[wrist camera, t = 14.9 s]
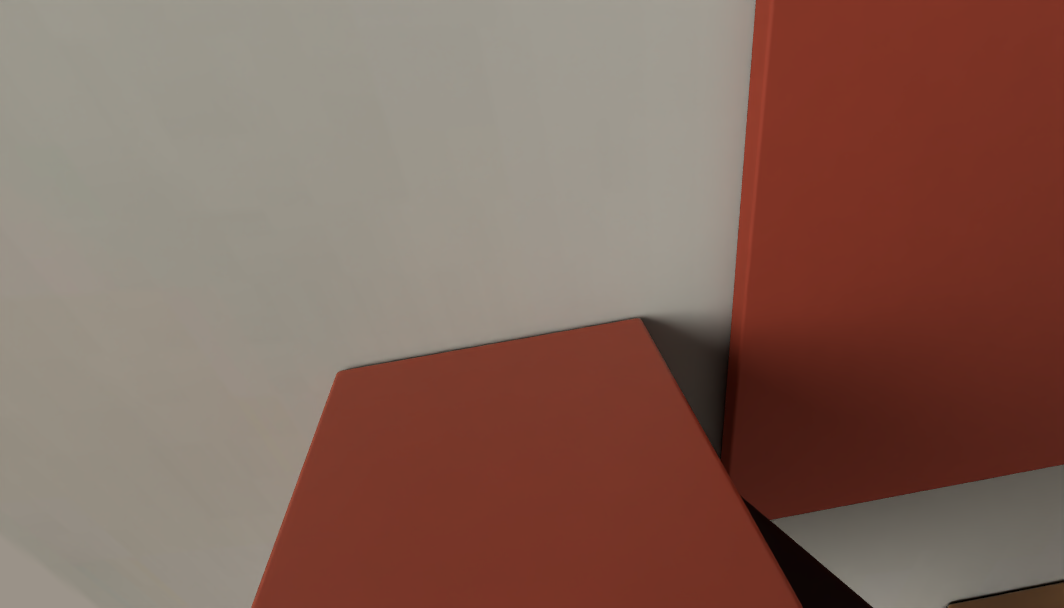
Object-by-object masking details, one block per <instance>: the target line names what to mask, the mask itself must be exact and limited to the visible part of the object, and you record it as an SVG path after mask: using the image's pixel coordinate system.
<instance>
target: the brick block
mask: <svg viewBox="0 0 1064 608" xmlns="http://www.w3.org/2000/svg"><path fill="white" fill-rule="evenodd" d="M251 608H803V607H802V605H801V603H800V601H799V600H798V598H797V596H796V594H795V592H794V591H793V589H792V587H791V585H790V583H789V582H788V580H787V578H786V576H785V575H784V573H783V571H782V569H781V567H780V566H779V564H778V562H777V560H776V559H775V557H774V555H773V553H772V551H771V550H770V548H769V546H768V544H767V543H766V541H765V539H764V537H763V535H762V534H761V532H760V530H759V528H758V526H757V525H756V523H755V521H754V519H753V518H752V516H751V514H750V512H749V510H748V509H747V507H746V505H745V503H744V502H743V500H742V498H741V496H740V494H739V493H738V491H737V489H736V487H735V486H734V484H733V482H732V480H731V478H730V477H729V475H728V473H727V471H726V469H725V468H724V466H723V464H722V462H721V461H720V459H719V457H718V455H717V453H716V452H715V450H714V448H713V446H712V445H711V443H710V441H709V439H708V437H707V436H706V434H705V432H704V430H703V428H702V427H701V425H700V423H699V421H698V420H697V418H696V416H695V414H694V412H693V411H692V409H691V407H690V405H689V404H688V402H687V400H686V398H685V396H684V395H683V393H682V391H681V389H680V388H679V386H678V384H677V382H676V380H675V379H674V377H673V375H672V373H671V371H670V370H669V368H668V366H667V364H666V363H665V361H664V359H663V357H662V355H661V354H660V352H659V350H658V348H657V347H656V345H655V343H654V341H653V339H652V338H651V336H650V334H649V332H648V331H647V329H646V327H645V325H644V323H643V322H642V320H641V319H640V318H635V319H629V320H623V321H618V322H612V323H606V324H601V325H595V326H590V327H584V328H578V329H573V330H567V331H561V332H556V333H550V334H545V335H539V336H533V337H528V338H522V339H517V340H511V341H505V342H500V343H494V344H488V345H483V346H477V347H472V348H466V349H460V350H455V351H449V352H443V353H438V354H432V355H427V356H421V357H415V358H410V359H404V360H399V361H393V362H387V363H382V364H376V365H370V366H365V367H359V368H354V369H348V370H342V371H340V372H338V373H337V374H336V377H335V380H334V382H333V385H332V388H331V391H330V393H329V396H328V399H327V402H326V404H325V407H324V410H323V413H322V415H321V418H320V421H319V424H318V426H317V429H316V432H315V434H314V437H313V440H312V443H311V445H310V448H309V451H308V454H307V456H306V459H305V462H304V465H303V467H302V470H301V473H300V476H299V478H298V481H297V484H296V487H295V489H294V492H293V495H292V497H291V500H290V503H289V506H288V508H287V511H286V514H285V517H284V519H283V522H282V525H281V528H280V530H279V533H278V536H277V539H276V541H275V544H274V547H273V550H272V552H271V555H270V558H269V560H268V563H267V566H266V569H265V571H264V574H263V577H262V580H261V582H260V585H259V588H258V591H257V593H256V596H255V599H254V602H253V604H252V607H251Z"/></svg>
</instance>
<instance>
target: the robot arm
mask: <svg viewBox="0 0 1064 608" xmlns="http://www.w3.org/2000/svg"><path fill="white" fill-rule="evenodd" d="M740 496H741V495H740ZM741 498H742V500H743V502H744V503H745V505H746V507H747V509H748V510H749V512H750V514H751V516H752V518H753V519H754V521H755V523H756V525H757V526H758V528H759V530H760V532H761V534H762V535H763V537H764V539H765V541H766V543H767V544H768V546H769V548H770V550H771V551H772V553H773V555H774V557H775V559H776V560H777V562H778V564H779V566H780V567H781V569H782V571H783V573H784V575H785V576H786V578H787V580H788V582H789V583H790V585H791V587H792V589H793V591H794V592H795V594H796V596H797V598H798V600H799V601H800V603H801V605H802V607H803V608H873V607H872V606H870V605H869V604H868V603H867V602H866V601H865V600H863V599H862V598H861V597H860V596H859V595H857V594H856V593H855V592H854V591H853V590H852V589H850V588H849V587H848V586H847V585H846V584H844V583H843V582H842V581H841V580H840V579H839V578H837V577H836V576H835V575H834V574H833V573H831V572H830V571H829V570H828V569H827V568H826V567H824V566H823V565H822V564H821V563H820V562H819V561H817V560H816V559H815V558H814V557H813V556H811V555H810V554H809V553H808V552H807V551H806V550H804V549H803V548H802V547H801V546H800V545H798V544H797V543H796V542H795V541H794V540H793V539H791V538H790V537H789V536H788V535H787V534H785V533H784V532H783V531H782V530H781V529H780V528H778V527H777V526H776V525H775V524H774V523H772V522H771V521H770V520H769V519H768V518H767V517H765V516H764V515H763V514H762V513H761V512H759V511H758V510H757V509H756V508H755V507H754V506H752V505H751V504H750V503H749V502H748V501H746V500H745V499H744V498H743V497H742V496H741Z"/></svg>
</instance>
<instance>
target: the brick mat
mask: <svg viewBox="0 0 1064 608" xmlns="http://www.w3.org/2000/svg"><path fill="white" fill-rule="evenodd" d="M721 462H722V464H723V466H724V468H725V469H726V471H727V473H728V475H729V477H730V478H731V480H732V482H733V484H734V486H735V487H736V489H737V491H738V493H739V494H740V495H741V496H742V497H743V498H744V499H745V500H746V501H748V502H749V503H750V504H751V505H752V506H754V507H755V508H756V509H757V510H758V511H759V512H761V513H762V514H763V515H764V516H765V517H767V518H768V519H769V520H772V519H778V518H783V517H788V516H794V515H799V514H804V513H809V512H815V511H820V510H825V509H830V508H836V507H841V506H846V505H852V504H857V503H862V502H867V501H873V500H878V499H883V498H889V497H894V496H899V495H904V494H910V493H915V492H920V491H926V490H931V489H936V488H941V487H947V486H952V485H957V484H963V483H968V482H973V481H978V480H984V479H989V478H994V477H1000V476H1005V475H1010V474H1015V473H1021V472H1026V471H1031V470H1037V469H1042V468H1047V467H1052V466H1058V465H1063V464H1064V0H756V8H755V21H754V34H753V48H752V61H751V74H750V87H749V100H748V113H747V126H746V139H745V152H744V165H743V178H742V191H741V204H740V217H739V230H738V244H737V257H736V270H735V283H734V296H733V309H732V322H731V335H730V348H729V361H728V374H727V387H726V400H725V413H724V427H723V440H722V453H721Z"/></svg>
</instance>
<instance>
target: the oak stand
mask: <svg viewBox="0 0 1064 608" xmlns="http://www.w3.org/2000/svg"><path fill="white" fill-rule="evenodd" d="M947 608H1064V582H1063V583H1058V584H1052V585H1047V586H1042V587H1037V588H1032V589H1027V590H1022V591H1017V592H1011V593H1006V594H1001V595H996V596H991V597H986V598H981V599H976V600H970V601H965V602H960V603H955V604H950V605H949V606H948V607H947Z"/></svg>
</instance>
